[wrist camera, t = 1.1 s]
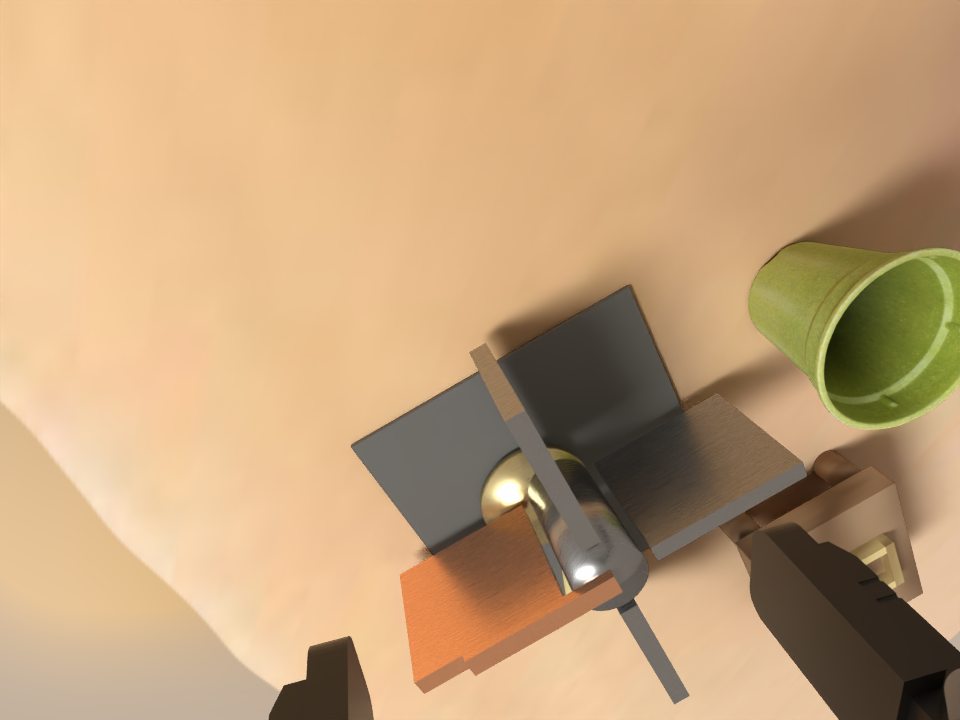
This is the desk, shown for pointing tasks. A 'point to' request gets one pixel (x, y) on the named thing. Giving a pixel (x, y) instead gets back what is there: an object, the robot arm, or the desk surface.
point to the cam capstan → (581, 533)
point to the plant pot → (865, 327)
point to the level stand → (849, 523)
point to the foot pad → (549, 404)
